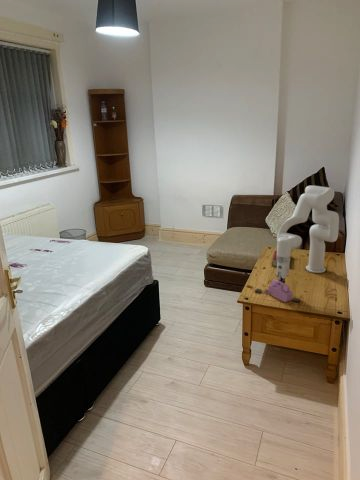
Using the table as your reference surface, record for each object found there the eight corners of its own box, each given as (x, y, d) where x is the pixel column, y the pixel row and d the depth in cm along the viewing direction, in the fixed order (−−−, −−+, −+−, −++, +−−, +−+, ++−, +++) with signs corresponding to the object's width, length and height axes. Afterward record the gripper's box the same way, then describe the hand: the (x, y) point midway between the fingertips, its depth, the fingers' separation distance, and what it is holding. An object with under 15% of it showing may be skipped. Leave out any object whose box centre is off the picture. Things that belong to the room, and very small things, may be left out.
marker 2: (294, 299, 206) (294, 297, 205) (299, 300, 204) (299, 298, 204) (292, 301, 204) (292, 299, 203) (298, 303, 202) (298, 301, 202)
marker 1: (257, 290, 218) (257, 288, 218) (261, 291, 217) (261, 289, 216) (255, 292, 216) (255, 290, 216) (259, 293, 214) (259, 291, 214)
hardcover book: (271, 266, 250) (272, 260, 249) (274, 255, 269) (274, 249, 267) (289, 267, 246) (289, 262, 245) (290, 256, 265) (291, 251, 264)
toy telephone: (293, 300, 205) (294, 284, 201) (285, 303, 202) (286, 288, 198) (270, 289, 219) (271, 274, 216) (262, 291, 216) (263, 277, 213)
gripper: (285, 263, 199) (283, 293, 206) (293, 254, 211) (291, 282, 217) (272, 261, 203) (271, 290, 210) (281, 252, 215) (279, 280, 221)
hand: (281, 286), depth 213 cm, fingers closed
